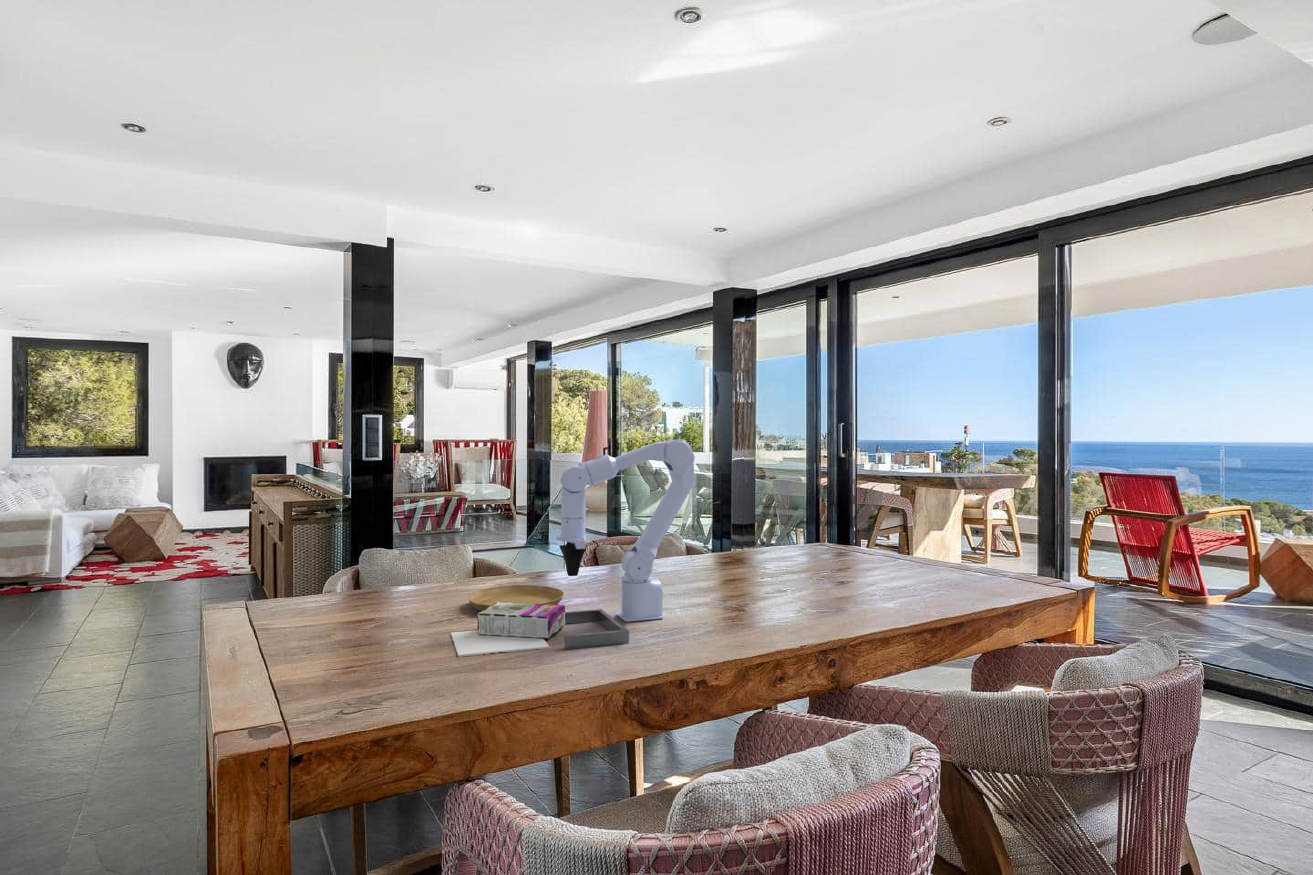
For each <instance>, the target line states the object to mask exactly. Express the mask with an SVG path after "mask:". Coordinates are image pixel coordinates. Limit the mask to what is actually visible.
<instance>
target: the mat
mask: <svg viewBox="0 0 1313 875" xmlns="http://www.w3.org/2000/svg"><path fill="white" fill-rule="evenodd" d="M450 635H451V639H452V641H454V642H453V644H454V648H455V651H456V654H457V657H458V658H459V657H460V658H462V657H472V656H484V655H483V654H485V655H491V654H490V653H495V654H499V653H498V652H506V653H515V652H524V651H525V652H526V651H535V650H536V649H537V650H545V649H550V645H549V644H548V643H547V642H546V640H545V638H531V637H514V636H494V635H478V629H476V630H465V631H455V632H450Z"/></svg>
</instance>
